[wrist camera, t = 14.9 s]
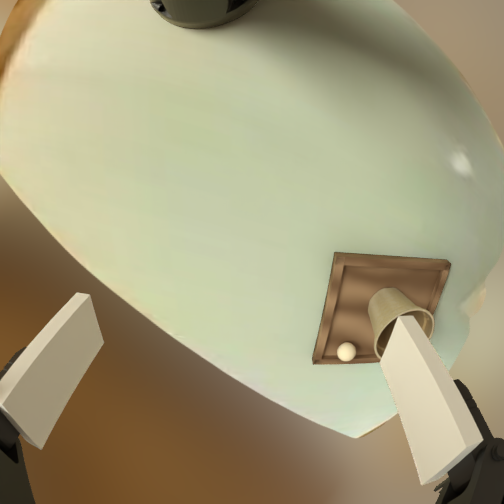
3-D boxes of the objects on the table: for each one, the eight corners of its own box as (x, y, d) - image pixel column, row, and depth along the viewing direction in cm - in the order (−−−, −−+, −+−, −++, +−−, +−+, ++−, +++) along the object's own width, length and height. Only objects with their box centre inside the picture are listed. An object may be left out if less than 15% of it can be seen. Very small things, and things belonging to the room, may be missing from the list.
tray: (334, 252, 38) (336, 256, 37) (446, 259, 38) (451, 263, 36) (312, 358, 46) (313, 364, 45) (410, 354, 45) (412, 359, 44)
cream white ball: (337, 338, 43) (341, 351, 40) (355, 338, 43) (360, 350, 40) (333, 352, 45) (336, 365, 42) (351, 352, 45) (355, 364, 42)
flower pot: (420, 285, 39) (446, 315, 31) (393, 331, 43) (411, 365, 35) (375, 270, 38) (397, 302, 30) (348, 321, 42) (361, 358, 34)
